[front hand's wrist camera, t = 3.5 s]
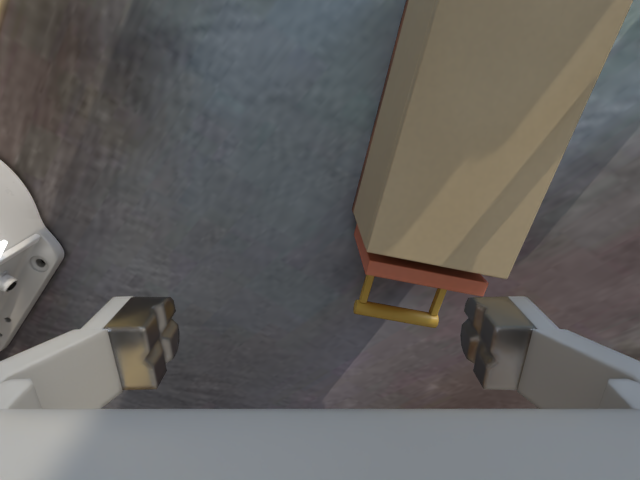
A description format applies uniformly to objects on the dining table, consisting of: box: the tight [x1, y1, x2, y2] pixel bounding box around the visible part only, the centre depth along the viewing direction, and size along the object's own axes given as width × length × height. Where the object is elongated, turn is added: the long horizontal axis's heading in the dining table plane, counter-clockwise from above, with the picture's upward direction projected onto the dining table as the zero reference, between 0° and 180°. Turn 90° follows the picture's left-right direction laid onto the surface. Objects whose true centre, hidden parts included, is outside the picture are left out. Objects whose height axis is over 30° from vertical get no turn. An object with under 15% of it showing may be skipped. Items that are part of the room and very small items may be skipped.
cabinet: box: [352, 0, 633, 279], centre depth 27 cm, size 20×10×10 cm, turn 168°
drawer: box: [354, 225, 488, 328], centre depth 29 cm, size 24×9×8 cm, turn 168°
